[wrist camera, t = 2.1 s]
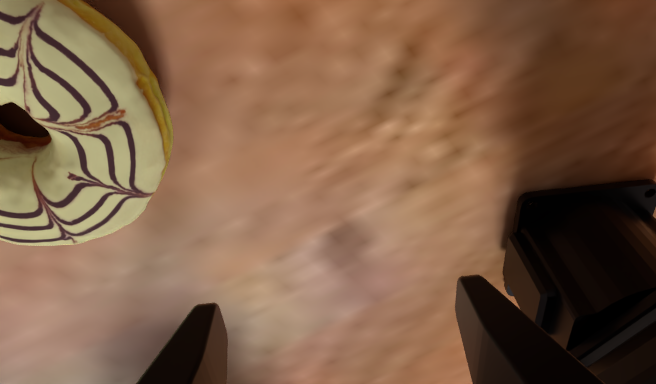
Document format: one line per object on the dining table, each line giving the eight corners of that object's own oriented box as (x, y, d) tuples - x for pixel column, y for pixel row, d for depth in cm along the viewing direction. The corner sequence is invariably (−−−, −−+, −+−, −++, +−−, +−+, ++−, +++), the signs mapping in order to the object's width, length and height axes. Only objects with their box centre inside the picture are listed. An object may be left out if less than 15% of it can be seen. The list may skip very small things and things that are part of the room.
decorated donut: (-191, 3, 17) (-296, 38, 14) (96, -87, 16) (50, -71, 13) (-4, 229, 23) (-50, 289, 20) (216, 173, 22) (203, 227, 19)
